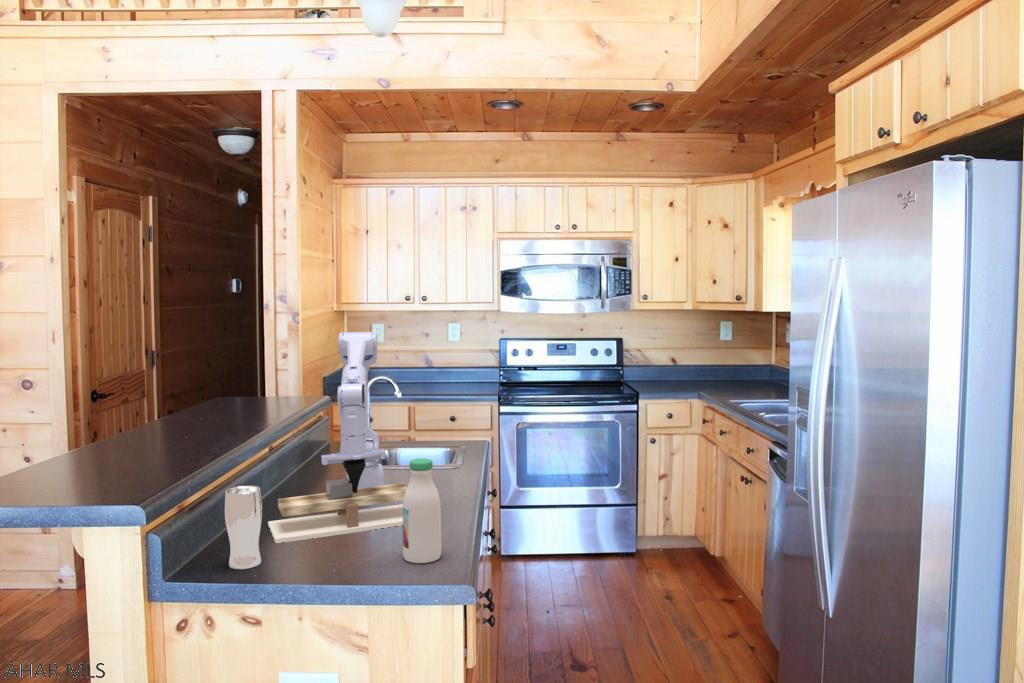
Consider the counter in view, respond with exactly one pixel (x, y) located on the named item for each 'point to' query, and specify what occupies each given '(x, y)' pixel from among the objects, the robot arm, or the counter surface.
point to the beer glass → (243, 525)
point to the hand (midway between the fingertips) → (354, 491)
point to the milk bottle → (421, 515)
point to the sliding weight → (339, 489)
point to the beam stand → (336, 523)
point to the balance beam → (341, 500)
